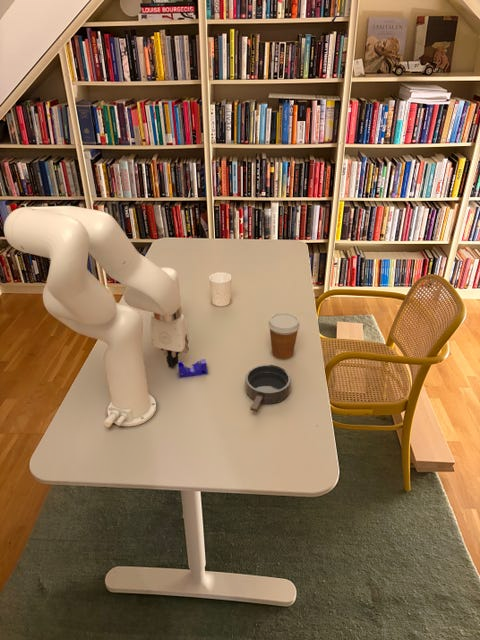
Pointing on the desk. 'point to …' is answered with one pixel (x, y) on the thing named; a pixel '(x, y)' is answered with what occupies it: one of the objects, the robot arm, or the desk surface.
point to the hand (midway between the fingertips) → (173, 364)
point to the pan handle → (257, 402)
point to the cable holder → (192, 369)
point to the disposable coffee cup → (283, 334)
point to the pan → (268, 383)
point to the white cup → (220, 288)
